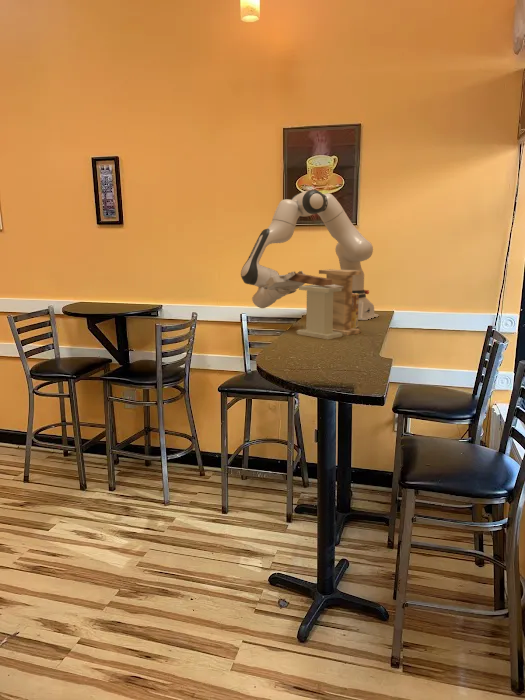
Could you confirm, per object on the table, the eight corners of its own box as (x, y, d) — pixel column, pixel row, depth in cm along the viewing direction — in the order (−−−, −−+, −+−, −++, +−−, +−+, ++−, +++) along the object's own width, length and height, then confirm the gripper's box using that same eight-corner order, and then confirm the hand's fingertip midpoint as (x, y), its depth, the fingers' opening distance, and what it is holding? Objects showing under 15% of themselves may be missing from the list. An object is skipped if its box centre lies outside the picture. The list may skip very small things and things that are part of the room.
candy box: (358, 327, 238) (359, 293, 235) (355, 329, 234) (356, 294, 231) (339, 326, 242) (340, 292, 239) (336, 327, 238) (337, 293, 235)
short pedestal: (311, 331, 229) (312, 284, 225) (342, 336, 217) (343, 287, 213) (296, 333, 223) (297, 286, 219) (327, 339, 211) (328, 289, 207)
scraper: (285, 279, 226) (285, 272, 225) (295, 279, 230) (295, 272, 229) (333, 289, 207) (334, 281, 206) (343, 288, 211) (344, 280, 210)
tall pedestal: (329, 327, 237) (331, 269, 232) (360, 332, 225) (362, 270, 219) (316, 330, 231) (317, 270, 226) (346, 335, 219) (348, 271, 213)
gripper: (258, 282, 228) (277, 266, 218) (292, 279, 241) (312, 265, 231) (263, 295, 227) (283, 280, 216) (297, 292, 240) (317, 278, 230)
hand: (298, 272), depth 224 cm, fingers closed on scraper, 3 cm apart
